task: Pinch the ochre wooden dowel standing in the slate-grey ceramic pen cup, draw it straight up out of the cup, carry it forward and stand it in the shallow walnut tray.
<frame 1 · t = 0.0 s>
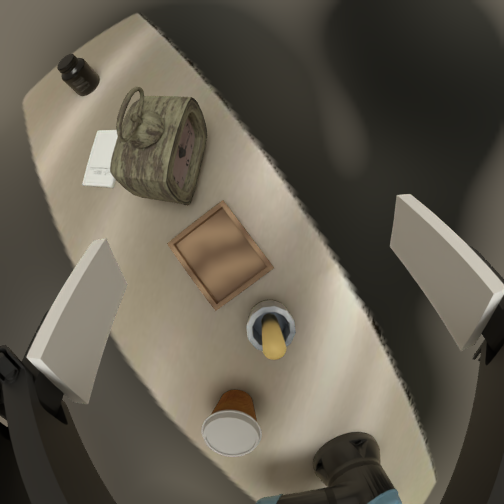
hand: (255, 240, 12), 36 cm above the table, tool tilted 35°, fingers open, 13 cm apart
dowel: (269, 321, 46), point 1 cm above the table, touching pen cup
pen cup: (269, 320, 47), on the table
disposable coffee cup: (236, 402, 47), on the table
external hard drive: (107, 159, 49), on the table
supplement bottle: (89, 85, 50), on the table
tray: (220, 255, 48), on the table
tabletop clock: (180, 172, 48), on the table
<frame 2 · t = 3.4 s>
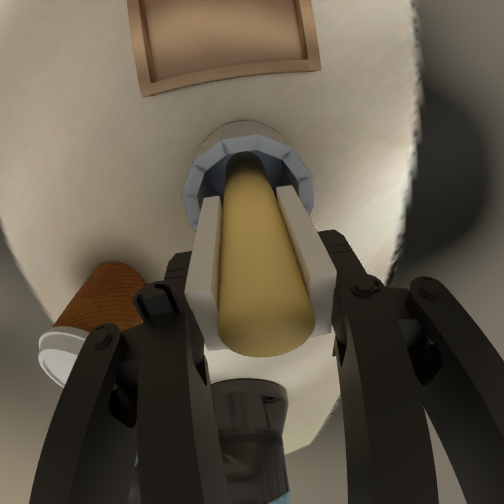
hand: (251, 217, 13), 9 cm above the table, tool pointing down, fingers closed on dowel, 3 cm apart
dowel: (244, 168, 20), point 1 cm above the table, touching gripper, pen cup
pen cup: (244, 165, 21), on the table
disposable coffee cup: (119, 284, 27), on the table
when the fingers open (10 cm above the table, at t = 8.3 s): dowel drops 2 cm, resting on tray.
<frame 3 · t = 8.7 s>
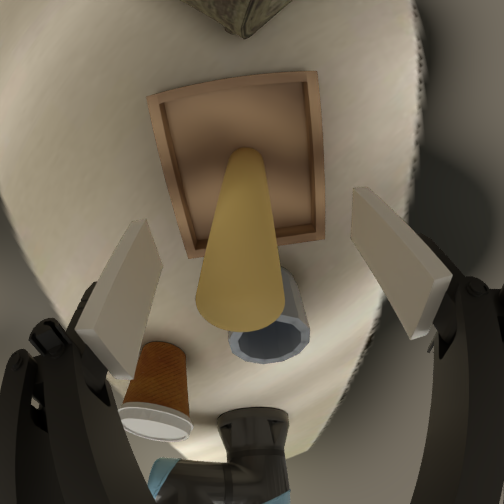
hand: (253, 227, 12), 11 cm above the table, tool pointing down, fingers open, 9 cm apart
dowel: (245, 164, 21), point 1 cm above the table, touching tray
pen cup: (262, 290, 30), on the table
disposable coffee cup: (164, 353, 36), on the table
tray: (243, 161, 22), on the table
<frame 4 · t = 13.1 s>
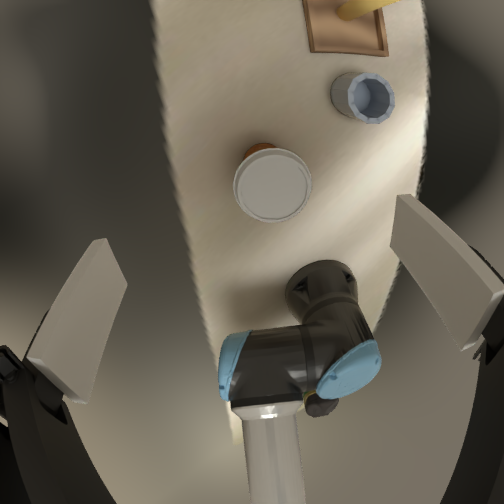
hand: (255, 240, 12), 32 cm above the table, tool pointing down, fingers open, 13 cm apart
dowel: (345, 13, 27), point 1 cm above the table, touching tray
pen cup: (351, 95, 35), on the table
disposable coffee cup: (263, 162, 41), on the table
coffee jar: (309, 351, 70), on the table
tray: (342, 14, 27), on the table
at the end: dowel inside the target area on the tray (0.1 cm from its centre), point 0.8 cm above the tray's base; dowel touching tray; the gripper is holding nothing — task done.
